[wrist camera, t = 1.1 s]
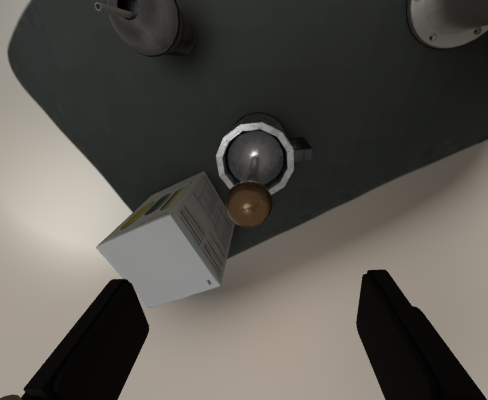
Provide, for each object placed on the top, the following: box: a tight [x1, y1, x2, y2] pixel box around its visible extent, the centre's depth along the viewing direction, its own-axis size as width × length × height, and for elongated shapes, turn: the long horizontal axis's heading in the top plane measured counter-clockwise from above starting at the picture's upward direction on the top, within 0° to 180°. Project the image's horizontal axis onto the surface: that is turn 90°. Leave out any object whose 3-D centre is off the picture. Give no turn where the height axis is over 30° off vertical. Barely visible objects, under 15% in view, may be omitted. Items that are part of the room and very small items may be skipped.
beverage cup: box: [95, 0, 196, 57], centre depth 26 cm, size 7×7×20 cm
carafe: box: [216, 112, 312, 195], centre depth 36 cm, size 13×10×12 cm
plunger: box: [225, 130, 283, 228], centre depth 25 cm, size 8×8×16 cm
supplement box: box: [96, 171, 235, 308], centre depth 40 cm, size 13×13×18 cm
